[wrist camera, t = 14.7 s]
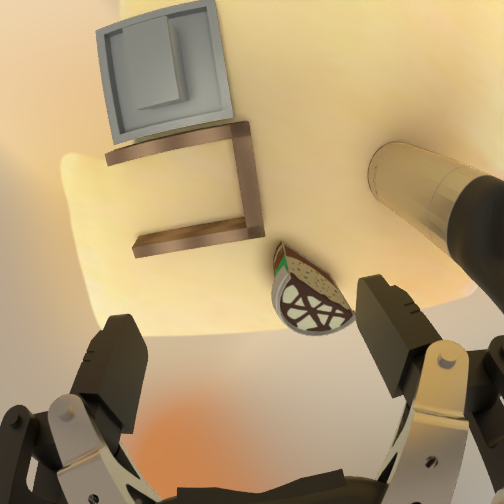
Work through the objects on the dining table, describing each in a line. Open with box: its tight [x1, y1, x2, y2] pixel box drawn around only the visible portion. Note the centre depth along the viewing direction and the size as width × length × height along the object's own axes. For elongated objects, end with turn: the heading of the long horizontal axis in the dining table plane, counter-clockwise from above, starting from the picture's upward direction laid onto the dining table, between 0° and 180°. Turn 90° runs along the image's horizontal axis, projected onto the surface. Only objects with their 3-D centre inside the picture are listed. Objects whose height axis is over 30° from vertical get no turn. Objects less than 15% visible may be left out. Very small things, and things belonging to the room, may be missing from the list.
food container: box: [271, 242, 356, 336], centre depth 38 cm, size 12×6×10 cm, turn 53°
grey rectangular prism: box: [122, 16, 189, 110], centre depth 25 cm, size 4×9×7 cm, turn 8°
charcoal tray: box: [96, 0, 234, 145], centre depth 28 cm, size 14×15×2 cm
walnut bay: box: [105, 121, 265, 258], centre depth 34 cm, size 16×14×4 cm
